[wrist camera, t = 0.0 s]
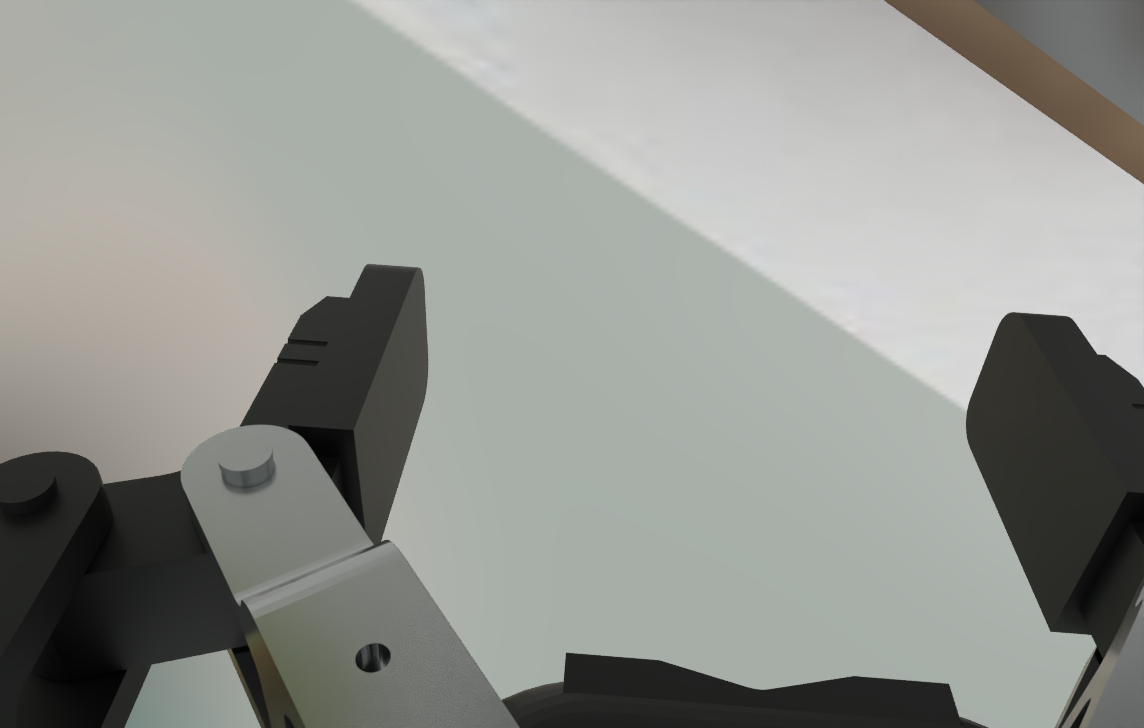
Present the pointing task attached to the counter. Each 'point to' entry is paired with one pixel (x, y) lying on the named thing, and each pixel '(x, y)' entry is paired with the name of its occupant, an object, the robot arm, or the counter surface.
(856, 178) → the counter surface
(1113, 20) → the walnut plinth
